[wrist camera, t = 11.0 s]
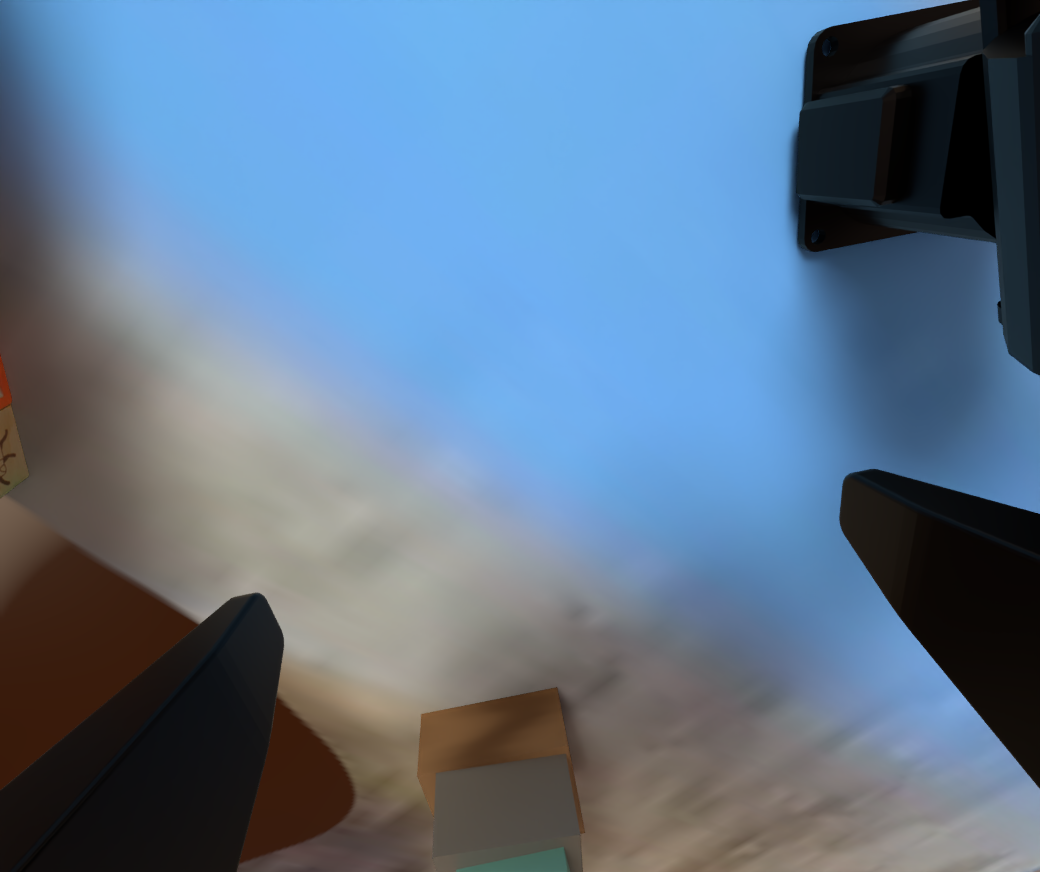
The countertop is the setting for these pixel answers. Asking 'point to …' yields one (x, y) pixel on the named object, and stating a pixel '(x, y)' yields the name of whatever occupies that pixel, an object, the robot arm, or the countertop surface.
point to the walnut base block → (493, 737)
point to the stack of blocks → (9, 442)
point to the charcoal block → (505, 813)
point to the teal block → (527, 863)
